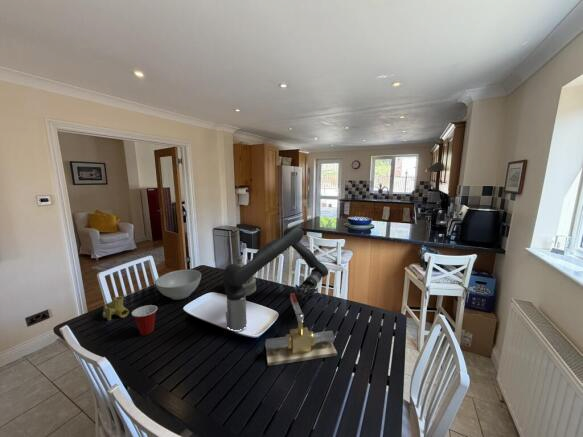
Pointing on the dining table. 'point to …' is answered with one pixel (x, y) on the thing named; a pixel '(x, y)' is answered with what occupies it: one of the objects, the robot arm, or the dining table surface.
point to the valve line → (299, 340)
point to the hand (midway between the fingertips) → (299, 296)
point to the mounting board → (287, 356)
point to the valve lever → (296, 308)
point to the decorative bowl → (178, 283)
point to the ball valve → (115, 308)
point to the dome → (248, 285)
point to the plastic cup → (145, 318)
